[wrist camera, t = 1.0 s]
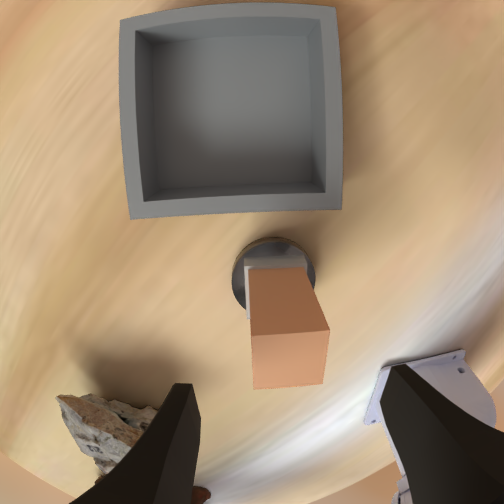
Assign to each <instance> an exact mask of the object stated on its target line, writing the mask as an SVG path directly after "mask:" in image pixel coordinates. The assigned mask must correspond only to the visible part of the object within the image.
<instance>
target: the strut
mask: <svg viewBox="0 0 504 504" xmlns="http://www.w3.org/2000/svg"><path fill="white" fill-rule="evenodd" d="M244 274H245V293H246V312H247V319H250V324H251V345H252V366H253V386H254V389H272V388H286V387H297V386H308V385H317V384H323V377H324V371H325V364H326V357H327V350H328V343H329V335H330V329H329V326H328V324H327V321H326V319H325V316H324V314H323V312H322V309H321V307H320V304H319V302H318V300H317V297H316V295H315V292H314V290H313V288H312V285H311V283H310V281H309V278H308V276H307V262H306V260H305V257H304V255H290V256H268V257H246V258H244Z"/></svg>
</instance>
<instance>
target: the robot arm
mask: <svg viewBox="0 0 504 504" xmlns="http://www.w3.org/2000/svg"><path fill="white" fill-rule="evenodd" d="M465 354H466V352H465V350H464V349H461V350H458V351H454V352H450V353H446V354H442V355H438V356H434V357H430V358H425V359H421V360H416V361H412V362H407V363H402V364H397V365H392V366H386V367H384V368H382V369H381V370H380V373H379V376H378V379H377V383H376V386H375V389H374V392H373V395H372V398H371V401H370V404H369V407H368V410H367V412H366V415H365V418H364V421H363V422H364V424H365V425H370V424H375V423H379V422H381V423H382V426H383V428H384V431H385V433H386V436H387V438H388V441H389V443H390V446H391V448H392V451H393V454H394V456H395V459H396V461H397V464H398V467H399V469H400V472H401V475H402V479H400V480H399V481H397V486H398V488H399V491H398V492H396V493H395V494H394V496H393V498H392V502H391V504H504V432H501V431H499V430H497V429H495V428H494V427H495V423H496V409H495V405H494V402H493V399H492V397H491V396H490V394H489V393H488V391H487V390H486V389H485V387H484V386H483V384H482V383H481V382H480V380H479V379H478V378H477V376H476V375H475V374H474V372H473V371H472V370H471V368H470V367H469V366H468V364H467V363H466V362H465V361H464V357H465ZM200 429H201V417H200V413H199V409H198V405H197V401H196V397H195V393H194V389H193V385H192V384H180V383H175V384H174V385H173V386H172V388H171V390H170V392H169V394H168V395H167V397H166V399H165V400H164V402H163V404H162V405H161V407H160V409H159V410H158V412H157V413H156V415H155V416H154V418H153V419H152V421H151V422H150V424H149V425H148V427H147V428H146V430H145V431H144V433H143V434H142V435H141V436H140V438H139V439H138V440H137V442H136V443H135V444H134V446H133V447H132V448H131V449H130V450H129V452H128V453H127V454H126V455H125V456H124V457H123V458H122V460H121V461H120V462H119V463H118V464H117V465H116V466H115V467H114V468H113V469H112V470H111V471H110V472H109V473H108V474H107V475H105V476H104V477H103V478H102V479H101V480H100V481H99V482H98V483H97V484H95V485H94V486H93V487H92V488H90V489H89V490H88V491H86V492H85V493H84V494H82V495H81V496H79V497H78V498H77V499H75V500H74V501H72V502H71V503H69V504H191V496H192V488H193V482H194V476H195V470H196V464H197V457H198V451H199V445H200Z"/></svg>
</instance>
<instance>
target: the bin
mask: <svg viewBox="0 0 504 504" xmlns="http://www.w3.org/2000/svg"><path fill="white" fill-rule="evenodd" d="M119 105H120V125H121V140H122V153H123V164H124V174H125V183H126V191H127V199H128V207H129V214H130V220H132V219H145V218H158V217H173V216H188V215H205V214H224V213H245V212H269V211H300V210H342V184H343V108H342V82H341V64H340V49H339V37H338V26H337V16H336V7H329V6H320V5H309V4H295V3H227V4H213V5H203V6H194V7H186V8H178V9H172V10H166V11H160V12H154V13H149V14H144V15H140V16H135V17H131V18H127V19H123V20H120V33H119Z"/></svg>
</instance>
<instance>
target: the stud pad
mask: <svg viewBox="0 0 504 504" xmlns="http://www.w3.org/2000/svg"><path fill="white" fill-rule="evenodd" d="M290 255H304V257H305V260H306V262H307V276H308V278H309V281H310V283H311V285H312V288H313V290H314V286H315V271H314V267H313V265H312V263H311V261H310V259H309V257H308V255H307V254H306V252H305V251H304V250H303V249H302V248H301V247H300V246H299V245H298V244H296V243H295V242H293V241H290V240H288V239H285V238H279V237H269V238H263V239H260V240H257V241H255V242H253V243H251V244H249V245H248V246H247V247H245V248H244V249H243V250H242V251H241V253H240V254H239V255H238V257H237V258H236V260H235V263H234V266H233V270H232V290H233V293H234V296H235V298H236V299H237V301H238V302H239V304H240V305H241V306H242V307H243V308H244V309H246V293H245V274H244V258H246V257H268V256H290Z"/></svg>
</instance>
